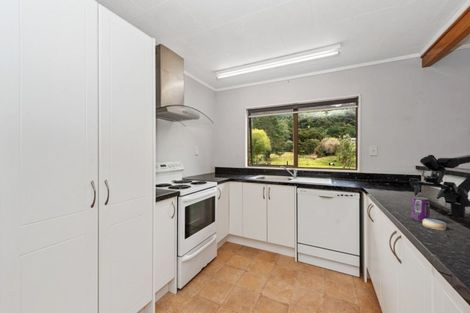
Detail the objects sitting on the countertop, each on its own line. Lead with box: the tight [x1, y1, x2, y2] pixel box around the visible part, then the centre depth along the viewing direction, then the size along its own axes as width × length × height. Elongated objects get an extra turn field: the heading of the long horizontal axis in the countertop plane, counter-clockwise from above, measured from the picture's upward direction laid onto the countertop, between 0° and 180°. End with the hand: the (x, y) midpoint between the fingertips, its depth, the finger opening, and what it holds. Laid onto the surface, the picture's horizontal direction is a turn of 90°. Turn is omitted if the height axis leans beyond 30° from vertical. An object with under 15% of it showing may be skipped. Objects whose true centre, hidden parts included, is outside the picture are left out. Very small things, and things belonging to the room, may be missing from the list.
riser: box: [422, 218, 447, 231], centre depth 95 cm, size 8×8×3 cm
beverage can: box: [410, 196, 431, 223], centre depth 105 cm, size 7×7×12 cm
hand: (425, 196), depth 107 cm, fingers open, 9 cm apart
